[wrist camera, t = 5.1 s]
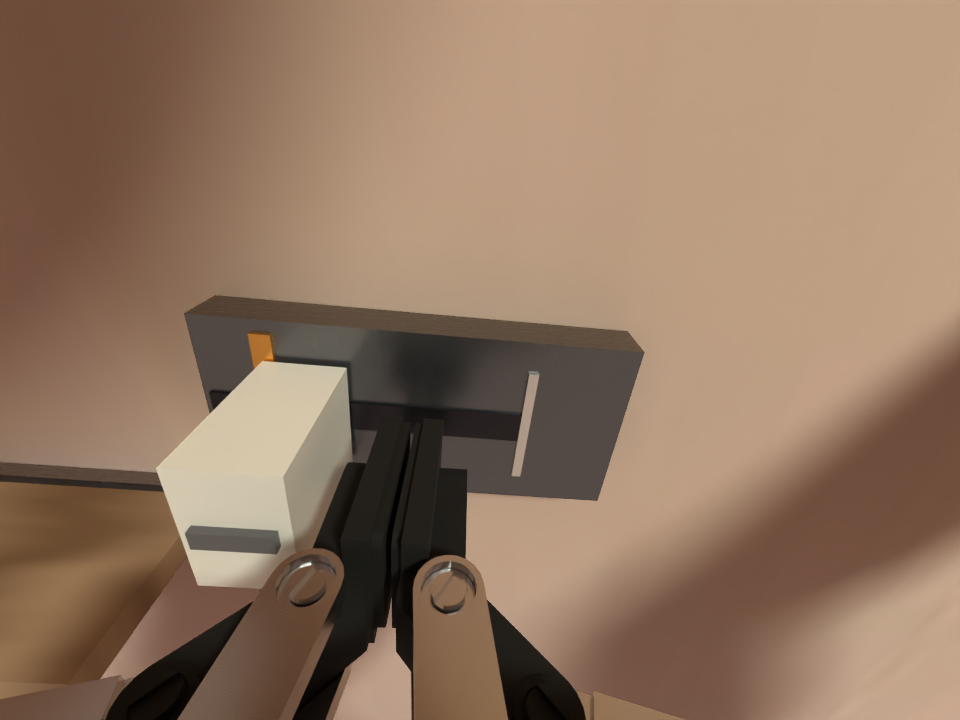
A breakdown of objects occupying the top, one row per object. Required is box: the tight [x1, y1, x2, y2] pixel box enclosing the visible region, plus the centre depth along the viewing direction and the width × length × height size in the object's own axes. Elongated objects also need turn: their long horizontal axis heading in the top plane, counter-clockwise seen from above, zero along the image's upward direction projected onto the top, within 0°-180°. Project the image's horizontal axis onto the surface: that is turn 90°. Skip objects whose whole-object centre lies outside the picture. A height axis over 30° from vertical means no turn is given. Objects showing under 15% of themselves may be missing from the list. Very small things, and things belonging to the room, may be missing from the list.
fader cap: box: [156, 361, 353, 589], centre depth 11 cm, size 2×4×5 cm, turn 175°
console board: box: [184, 296, 644, 501], centre depth 14 cm, size 13×6×2 cm, turn 85°
